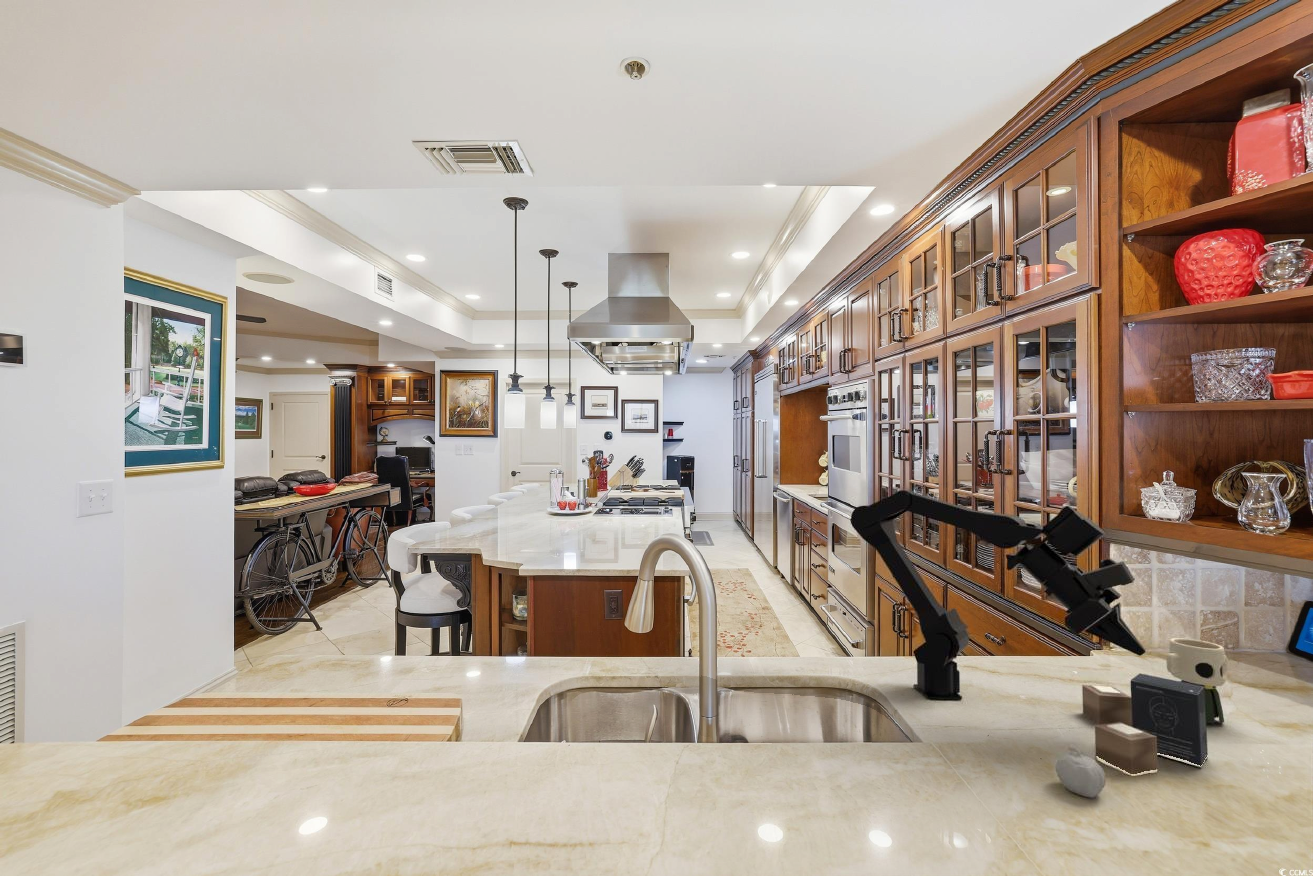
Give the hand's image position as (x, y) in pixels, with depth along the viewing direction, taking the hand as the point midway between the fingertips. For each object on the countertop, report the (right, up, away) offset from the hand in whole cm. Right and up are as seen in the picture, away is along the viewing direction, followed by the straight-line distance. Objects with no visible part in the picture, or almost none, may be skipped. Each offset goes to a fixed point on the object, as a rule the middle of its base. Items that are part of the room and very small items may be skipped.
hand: (1143, 653), depth 91 cm
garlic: (-20, -13, -14) cm, 28 cm away
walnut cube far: (+1, -15, +9) cm, 18 cm away
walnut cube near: (-8, -14, -7) cm, 17 cm away
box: (+2, -14, -3) cm, 15 cm away
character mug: (+18, -16, +10) cm, 26 cm away
